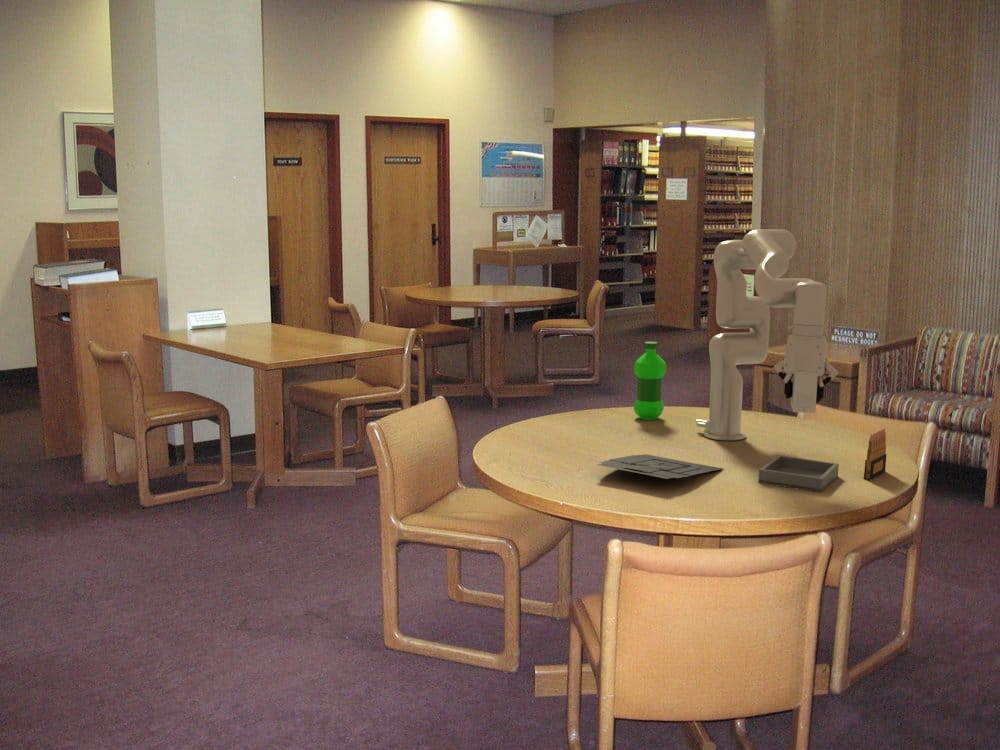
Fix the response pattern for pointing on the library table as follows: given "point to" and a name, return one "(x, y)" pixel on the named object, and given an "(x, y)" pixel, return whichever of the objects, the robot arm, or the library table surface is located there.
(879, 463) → the ammunition clip
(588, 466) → the library table surface
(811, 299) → the robot arm
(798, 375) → the small box
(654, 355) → the plastic bottle
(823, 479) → the tray
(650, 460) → the dark grey grooved panel
